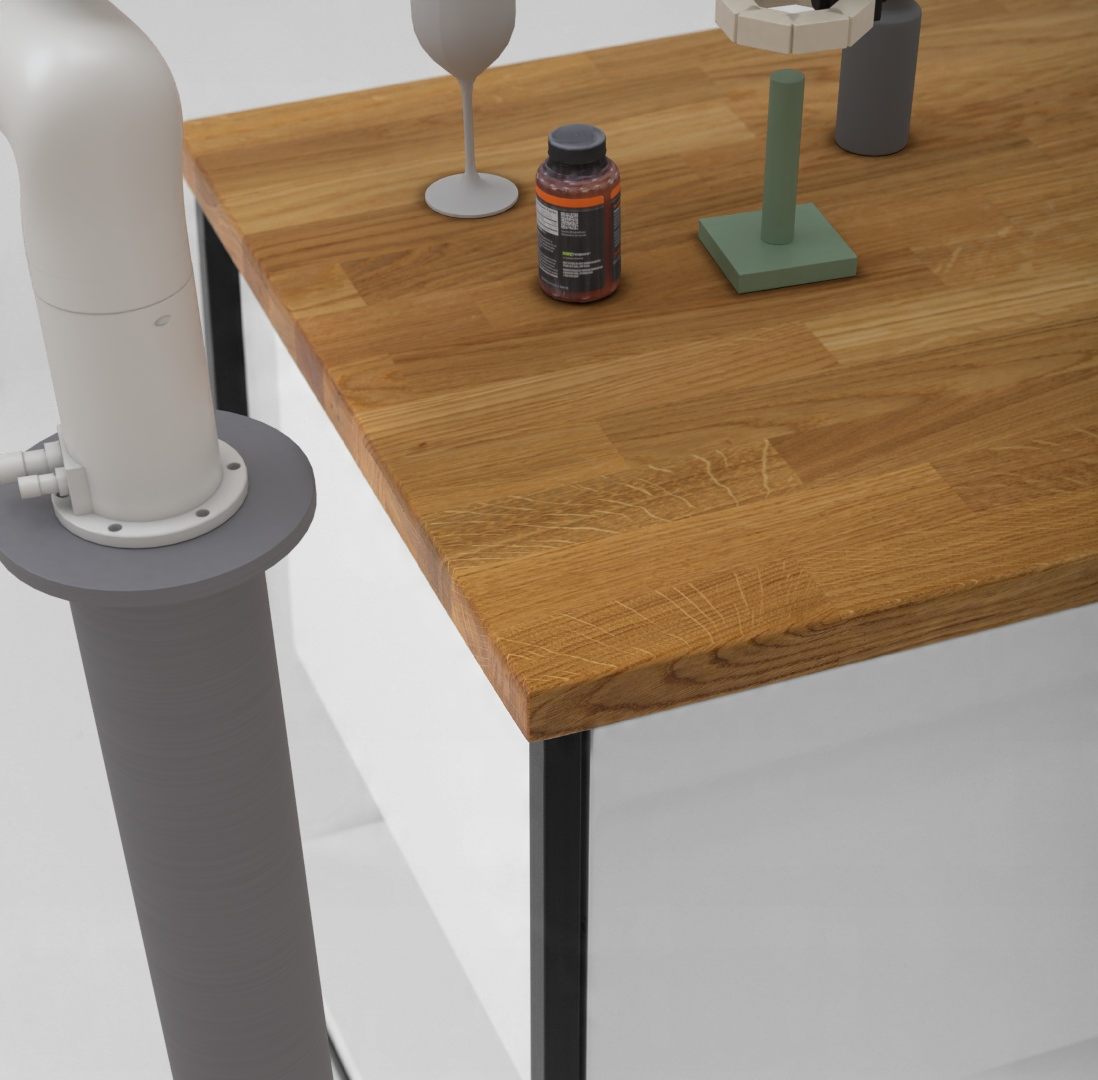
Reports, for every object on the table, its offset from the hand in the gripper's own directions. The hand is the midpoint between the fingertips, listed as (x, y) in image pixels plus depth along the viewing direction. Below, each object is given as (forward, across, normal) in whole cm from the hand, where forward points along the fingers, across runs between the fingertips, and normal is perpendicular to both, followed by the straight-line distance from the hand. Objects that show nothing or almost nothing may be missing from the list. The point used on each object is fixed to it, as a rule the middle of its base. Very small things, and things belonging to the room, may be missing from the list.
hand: (847, 14), depth 139 cm
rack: (+17, -4, 0) cm, 18 cm away
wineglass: (+17, -23, +16) cm, 33 cm away
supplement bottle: (+17, -19, 0) cm, 26 cm away
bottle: (+17, +10, +16) cm, 26 cm away
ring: (0, -4, 0) cm, 4 cm away
